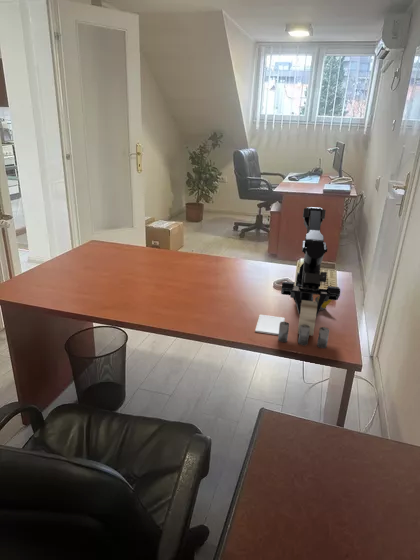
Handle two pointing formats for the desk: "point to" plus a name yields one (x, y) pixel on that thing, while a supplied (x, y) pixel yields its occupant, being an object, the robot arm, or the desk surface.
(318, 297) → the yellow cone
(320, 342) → the block
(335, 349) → the desk surface
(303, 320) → the birch block
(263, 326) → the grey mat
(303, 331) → the cylinder
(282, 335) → the steel spacer
